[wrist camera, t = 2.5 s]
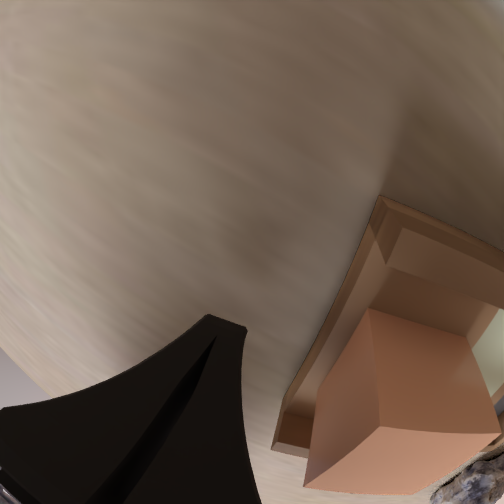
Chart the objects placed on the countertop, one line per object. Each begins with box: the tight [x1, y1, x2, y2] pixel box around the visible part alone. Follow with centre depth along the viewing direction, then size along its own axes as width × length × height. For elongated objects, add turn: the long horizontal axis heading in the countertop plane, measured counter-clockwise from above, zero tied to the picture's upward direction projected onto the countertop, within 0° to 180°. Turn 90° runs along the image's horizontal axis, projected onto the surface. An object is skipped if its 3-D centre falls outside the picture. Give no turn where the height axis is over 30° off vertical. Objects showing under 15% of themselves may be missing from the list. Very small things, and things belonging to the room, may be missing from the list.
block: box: [303, 308, 502, 495], centre depth 8 cm, size 4×4×4 cm
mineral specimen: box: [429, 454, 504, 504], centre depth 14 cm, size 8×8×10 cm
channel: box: [271, 195, 504, 458], centre depth 9 cm, size 11×16×3 cm
